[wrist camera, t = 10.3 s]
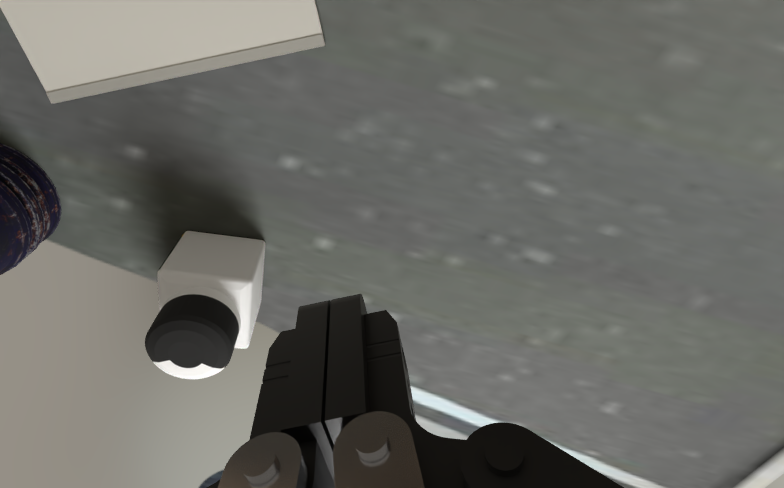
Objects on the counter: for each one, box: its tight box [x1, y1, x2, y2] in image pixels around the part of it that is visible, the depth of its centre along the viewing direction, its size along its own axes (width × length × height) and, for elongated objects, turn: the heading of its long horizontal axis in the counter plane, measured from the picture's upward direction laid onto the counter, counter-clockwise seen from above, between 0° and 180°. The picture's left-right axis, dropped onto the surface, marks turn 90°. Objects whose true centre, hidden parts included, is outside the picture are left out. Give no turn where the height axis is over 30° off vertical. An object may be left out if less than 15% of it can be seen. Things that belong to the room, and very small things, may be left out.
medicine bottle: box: [145, 231, 265, 379], centre depth 38 cm, size 7×7×12 cm
